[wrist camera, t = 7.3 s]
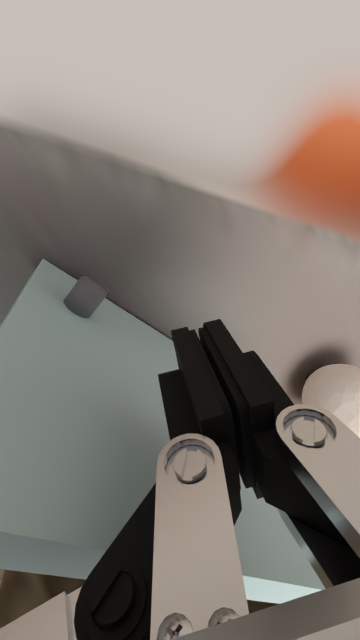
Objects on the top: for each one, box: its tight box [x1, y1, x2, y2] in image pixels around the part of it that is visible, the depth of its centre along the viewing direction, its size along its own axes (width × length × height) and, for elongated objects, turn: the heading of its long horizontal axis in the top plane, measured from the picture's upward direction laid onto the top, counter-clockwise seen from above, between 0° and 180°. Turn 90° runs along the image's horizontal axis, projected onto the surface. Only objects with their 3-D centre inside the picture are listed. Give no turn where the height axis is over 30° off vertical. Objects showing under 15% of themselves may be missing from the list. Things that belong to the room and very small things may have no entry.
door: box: [0, 259, 326, 604], centre depth 14 cm, size 2×15×14 cm, turn 49°
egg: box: [302, 364, 360, 438], centre depth 23 cm, size 6×6×8 cm
